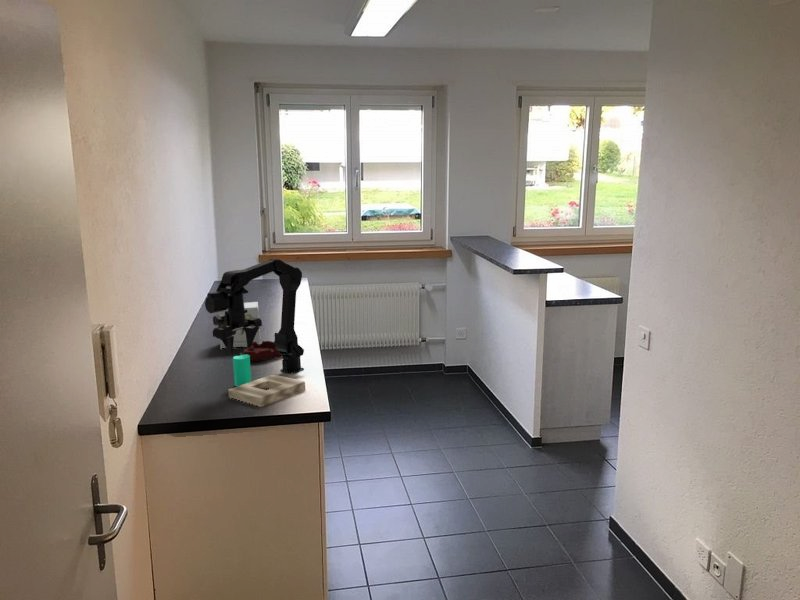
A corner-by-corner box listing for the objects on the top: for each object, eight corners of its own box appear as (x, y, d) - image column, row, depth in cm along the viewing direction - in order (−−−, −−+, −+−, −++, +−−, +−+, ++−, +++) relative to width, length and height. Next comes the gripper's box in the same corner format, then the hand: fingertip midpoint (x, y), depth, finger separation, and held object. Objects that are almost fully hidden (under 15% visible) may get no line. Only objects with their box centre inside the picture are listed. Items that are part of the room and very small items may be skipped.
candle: (253, 382, 234) (251, 350, 232) (250, 387, 229) (247, 354, 226) (236, 382, 234) (234, 350, 232) (232, 388, 228) (230, 355, 226)
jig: (273, 382, 234) (273, 374, 233) (305, 389, 224) (304, 381, 223) (228, 398, 218) (228, 389, 217) (260, 406, 208) (260, 397, 208)
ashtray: (283, 362, 260) (282, 350, 259) (242, 364, 259) (241, 352, 258) (287, 351, 277) (287, 339, 276) (249, 352, 276) (248, 341, 275)
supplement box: (220, 350, 281) (216, 309, 278) (221, 342, 294) (218, 303, 290) (260, 347, 284) (258, 306, 281) (260, 340, 297) (258, 301, 294)
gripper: (238, 300, 237) (242, 342, 240) (198, 311, 221) (203, 355, 225) (261, 302, 232) (264, 345, 235) (222, 314, 216) (227, 359, 219)
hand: (240, 350), depth 228 cm, fingers open, 9 cm apart
